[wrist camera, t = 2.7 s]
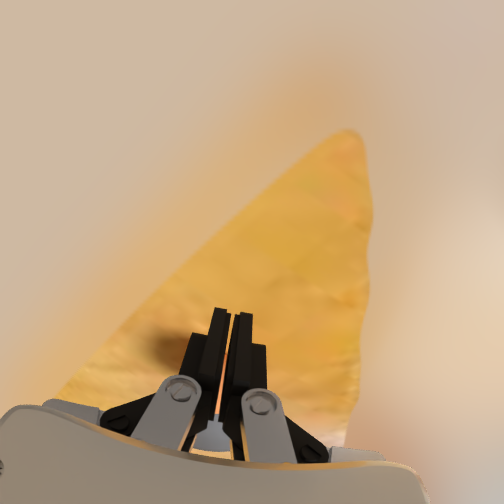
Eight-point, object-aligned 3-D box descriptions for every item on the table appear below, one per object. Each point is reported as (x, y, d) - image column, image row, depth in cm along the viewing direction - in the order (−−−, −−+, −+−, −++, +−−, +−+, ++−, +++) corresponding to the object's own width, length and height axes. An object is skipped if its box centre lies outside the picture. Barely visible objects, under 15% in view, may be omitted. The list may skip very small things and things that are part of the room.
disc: (238, 457, 30) (238, 458, 30) (149, 432, 29) (148, 433, 28) (279, 414, 26) (279, 415, 26) (163, 381, 24) (163, 383, 24)
